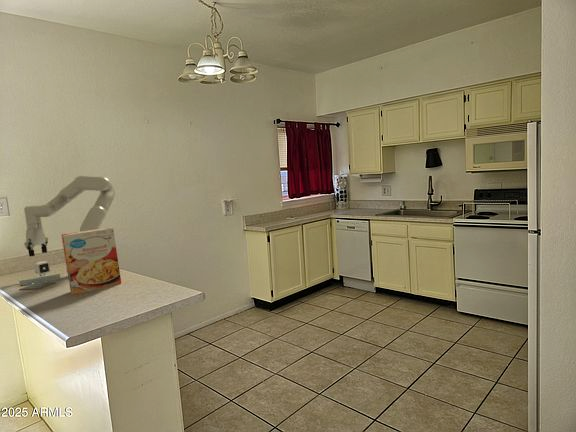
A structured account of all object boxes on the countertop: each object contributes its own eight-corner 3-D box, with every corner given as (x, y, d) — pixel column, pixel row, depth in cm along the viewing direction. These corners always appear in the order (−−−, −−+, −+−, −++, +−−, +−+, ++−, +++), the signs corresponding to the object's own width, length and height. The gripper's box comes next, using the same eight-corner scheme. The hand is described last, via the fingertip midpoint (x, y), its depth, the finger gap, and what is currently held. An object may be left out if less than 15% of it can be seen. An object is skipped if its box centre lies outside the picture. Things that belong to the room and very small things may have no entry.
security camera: (40, 280, 230) (37, 264, 229) (35, 279, 234) (32, 263, 233) (51, 277, 235) (49, 261, 234) (47, 276, 239) (44, 260, 238)
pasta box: (73, 295, 192) (63, 235, 188) (70, 291, 198) (61, 234, 195) (121, 283, 205) (113, 228, 202) (117, 281, 212) (109, 227, 208)
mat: (55, 282, 221) (54, 281, 221) (38, 289, 210) (38, 288, 209) (36, 283, 223) (36, 282, 223) (19, 290, 211) (19, 289, 211)
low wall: (60, 278, 230) (59, 273, 230) (60, 279, 229) (59, 274, 229) (20, 285, 222) (19, 280, 222) (20, 285, 221) (19, 280, 221)
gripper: (40, 224, 240) (44, 251, 242) (16, 228, 223) (21, 257, 225) (50, 224, 239) (54, 251, 241) (28, 228, 222) (32, 257, 224)
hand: (38, 254), depth 233 cm, fingers open, 9 cm apart
